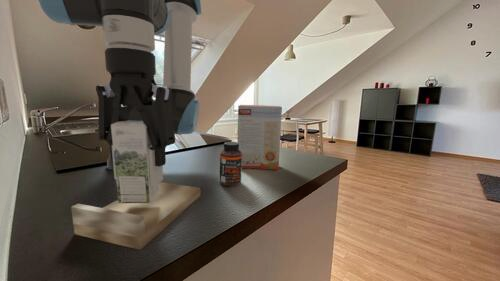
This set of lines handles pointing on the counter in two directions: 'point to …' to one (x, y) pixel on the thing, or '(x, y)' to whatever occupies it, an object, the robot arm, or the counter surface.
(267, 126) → the cracker box
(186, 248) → the counter surface
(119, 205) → the shelf board
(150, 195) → the syrup box
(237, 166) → the supplement bottle
